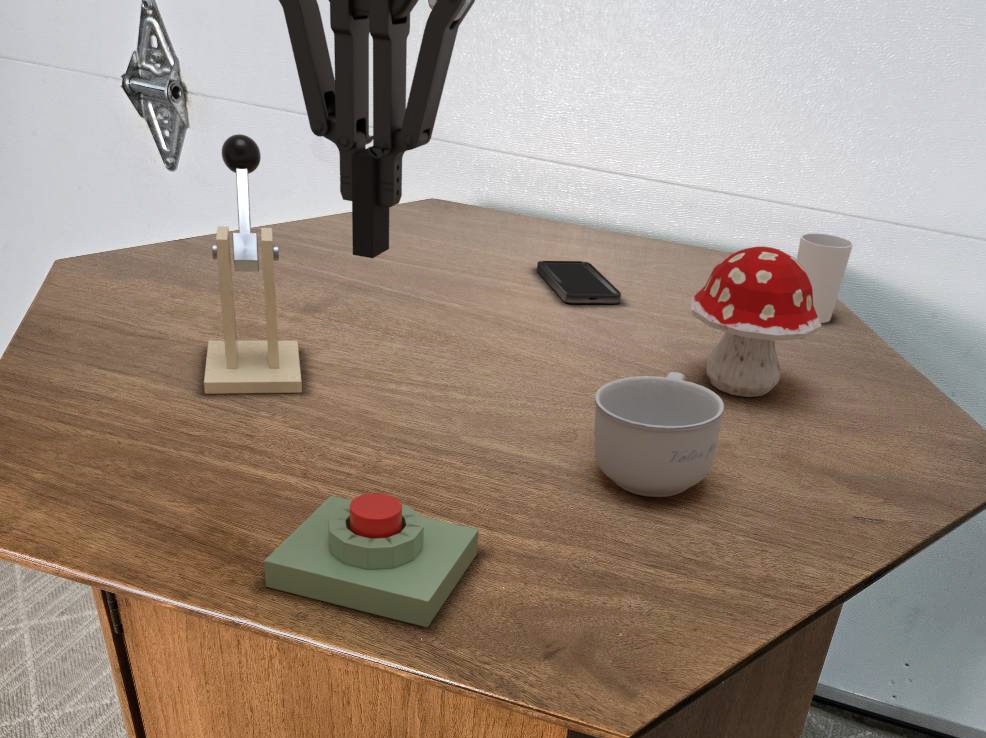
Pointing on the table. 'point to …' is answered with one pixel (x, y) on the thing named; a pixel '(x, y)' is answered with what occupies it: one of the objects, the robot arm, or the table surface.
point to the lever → (243, 198)
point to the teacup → (656, 433)
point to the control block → (373, 563)
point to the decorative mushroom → (754, 317)
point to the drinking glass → (824, 268)
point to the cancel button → (375, 516)
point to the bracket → (250, 361)
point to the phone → (578, 282)
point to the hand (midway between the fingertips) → (371, 251)
